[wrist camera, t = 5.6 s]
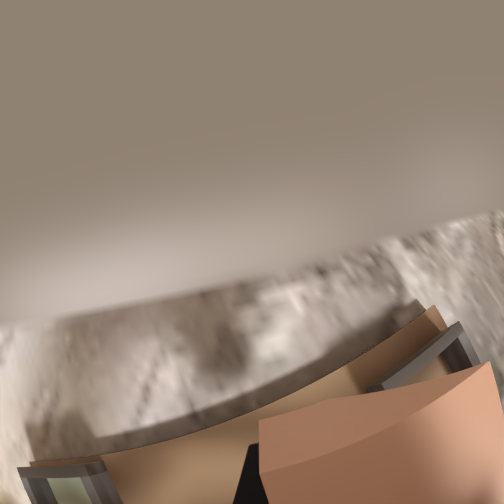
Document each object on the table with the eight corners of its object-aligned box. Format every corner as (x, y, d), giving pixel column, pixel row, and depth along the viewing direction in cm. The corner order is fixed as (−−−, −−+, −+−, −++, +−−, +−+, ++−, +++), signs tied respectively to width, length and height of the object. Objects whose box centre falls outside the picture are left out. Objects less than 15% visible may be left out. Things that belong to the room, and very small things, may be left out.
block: (348, 459, 11) (510, 518, 1) (277, 483, 11) (320, 626, 1) (329, 398, 13) (489, 360, 3) (258, 420, 13) (259, 473, 3)
